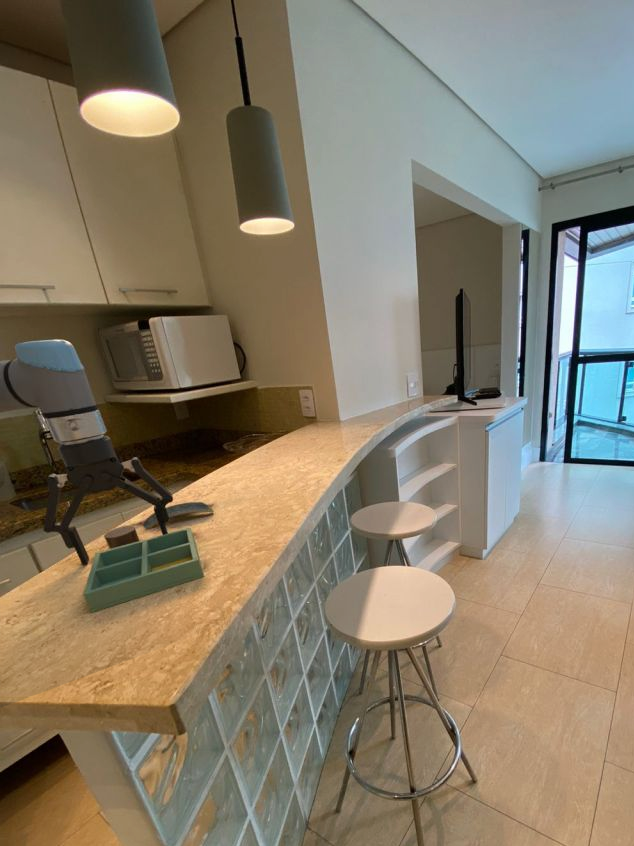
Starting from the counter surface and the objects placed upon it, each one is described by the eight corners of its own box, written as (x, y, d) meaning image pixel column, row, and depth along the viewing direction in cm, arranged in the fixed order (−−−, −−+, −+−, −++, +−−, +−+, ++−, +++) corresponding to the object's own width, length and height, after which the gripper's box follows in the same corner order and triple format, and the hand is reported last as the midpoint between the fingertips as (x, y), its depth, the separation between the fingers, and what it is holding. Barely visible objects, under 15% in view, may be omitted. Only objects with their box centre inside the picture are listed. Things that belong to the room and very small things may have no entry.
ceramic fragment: (144, 530, 86) (138, 513, 84) (148, 521, 90) (143, 505, 89) (214, 516, 89) (209, 499, 88) (214, 508, 94) (210, 492, 93)
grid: (101, 568, 71) (95, 552, 70) (195, 541, 78) (190, 527, 76) (91, 612, 59) (83, 594, 57) (204, 576, 65) (198, 559, 64)
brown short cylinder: (113, 549, 78) (105, 531, 77) (142, 541, 80) (135, 523, 79) (111, 559, 74) (102, 540, 73) (141, 551, 76) (134, 532, 75)
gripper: (-19, 460, 61) (43, 580, 69) (164, 427, 71) (199, 536, 79) (-3, 451, 67) (52, 563, 75) (162, 422, 77) (195, 524, 85)
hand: (128, 549), depth 77 cm, fingers open, 13 cm apart
